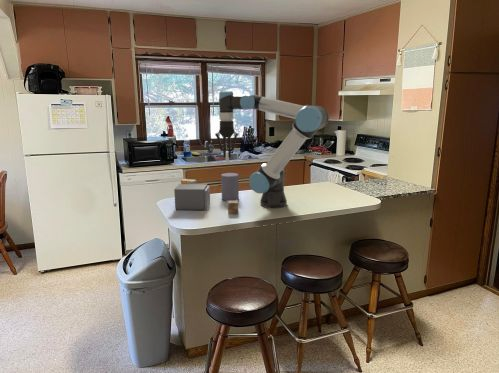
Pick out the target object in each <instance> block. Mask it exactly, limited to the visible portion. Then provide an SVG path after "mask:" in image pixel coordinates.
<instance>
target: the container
mask: <svg viewBox="0 0 499 373" xmlns="http://www.w3.org/2000/svg"><path fill="white" fill-rule="evenodd" d="M220 178H221V179H220V181H221V184H220V185H221V199H222V200H223V201H227V202H229V200H239V198H240V195H239V191H240V190H239V187H240V185H239V173H235V172H226V173H222V174H220Z"/></svg>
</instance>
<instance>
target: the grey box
mask: <svg viewBox="0 0 499 373" xmlns="http://www.w3.org/2000/svg"><path fill="white" fill-rule="evenodd" d="M207 186H208V184H207V183H204V184H202V183H201V184H200V183H196V184H181V183H180V184H178V185H177V186H176V187H175V188H174V189H173V191H174V208H175V209H174V210H176V211H177V212H178V211H179V212H181V211H182V212H183V211H191V212H192V211H193V212H194V211H195V212H203V211H204V212H205V211H206V210H205V202H204V198H205V195H204V190H205V189H206V187H207Z"/></svg>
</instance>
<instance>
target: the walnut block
mask: <svg viewBox="0 0 499 373" xmlns="http://www.w3.org/2000/svg"><path fill="white" fill-rule="evenodd" d="M227 209H228V210H227V214H228V215H229V214H230V215H238V214H239V199H237V200H229V201H227Z"/></svg>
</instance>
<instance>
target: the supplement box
mask: <svg viewBox="0 0 499 373" xmlns="http://www.w3.org/2000/svg"><path fill="white" fill-rule="evenodd" d="M180 184H197V179H190V178H183V179H180Z"/></svg>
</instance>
